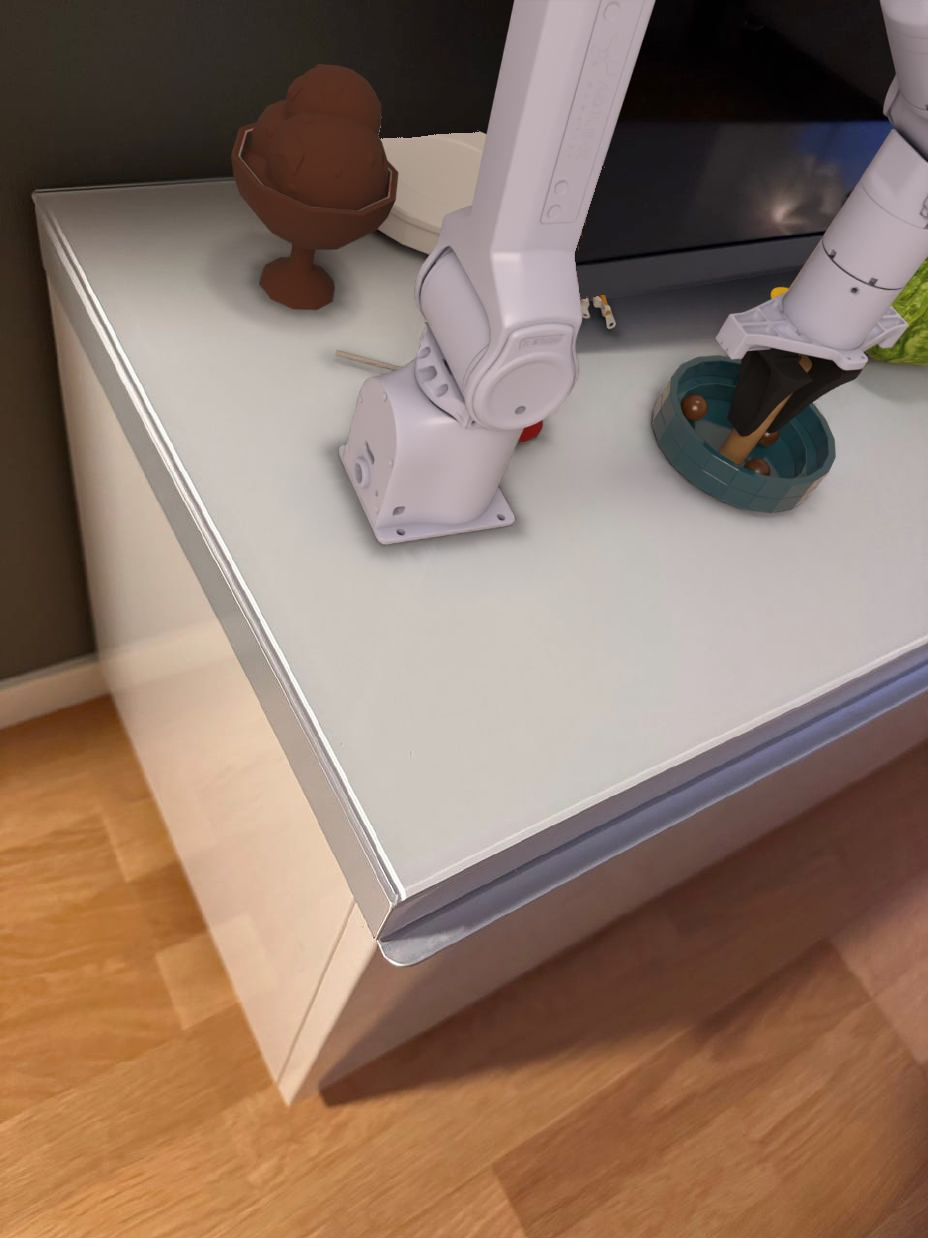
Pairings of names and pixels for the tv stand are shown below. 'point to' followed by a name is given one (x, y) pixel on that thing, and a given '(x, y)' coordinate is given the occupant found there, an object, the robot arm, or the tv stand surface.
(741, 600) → the tv stand surface
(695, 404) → the hazelnut
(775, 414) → the stirring stick
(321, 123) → the ice cream bowl
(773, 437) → the hazelnut
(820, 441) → the bowl
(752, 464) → the hazelnut
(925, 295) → the lettuce
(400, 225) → the lid
